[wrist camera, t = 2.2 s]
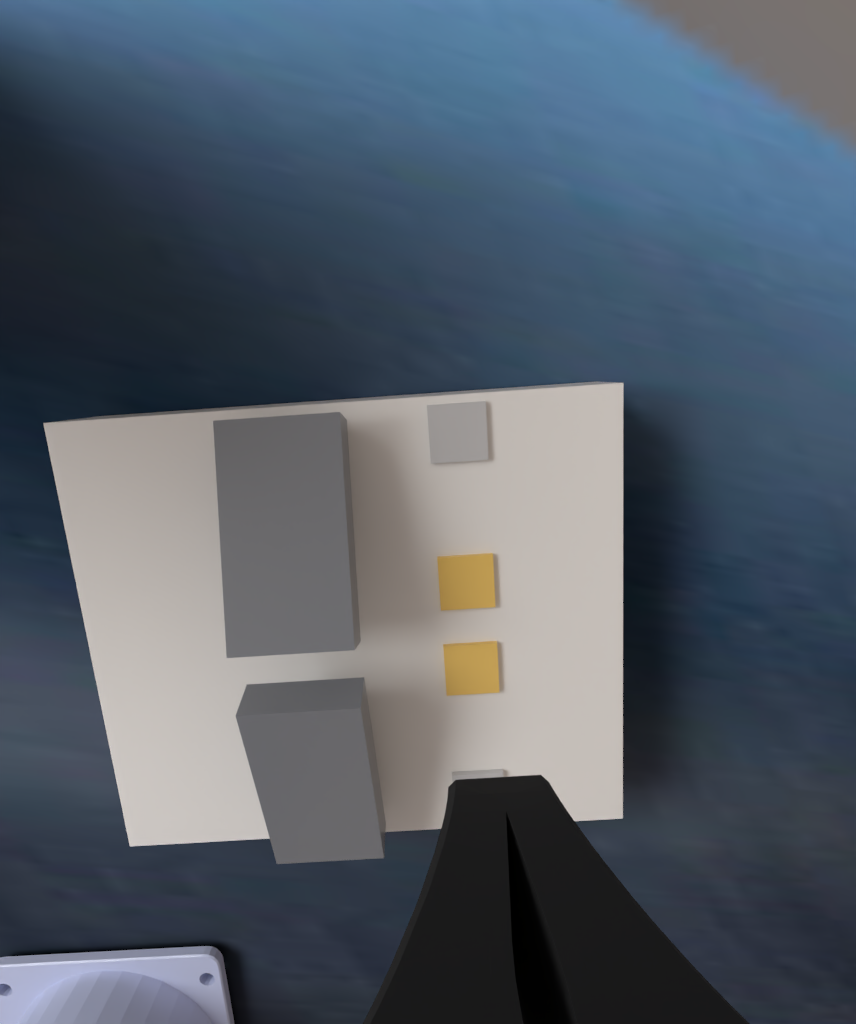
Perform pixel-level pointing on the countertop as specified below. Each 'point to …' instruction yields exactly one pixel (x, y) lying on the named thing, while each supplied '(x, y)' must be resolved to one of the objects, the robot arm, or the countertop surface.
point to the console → (367, 601)
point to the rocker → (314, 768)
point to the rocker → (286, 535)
